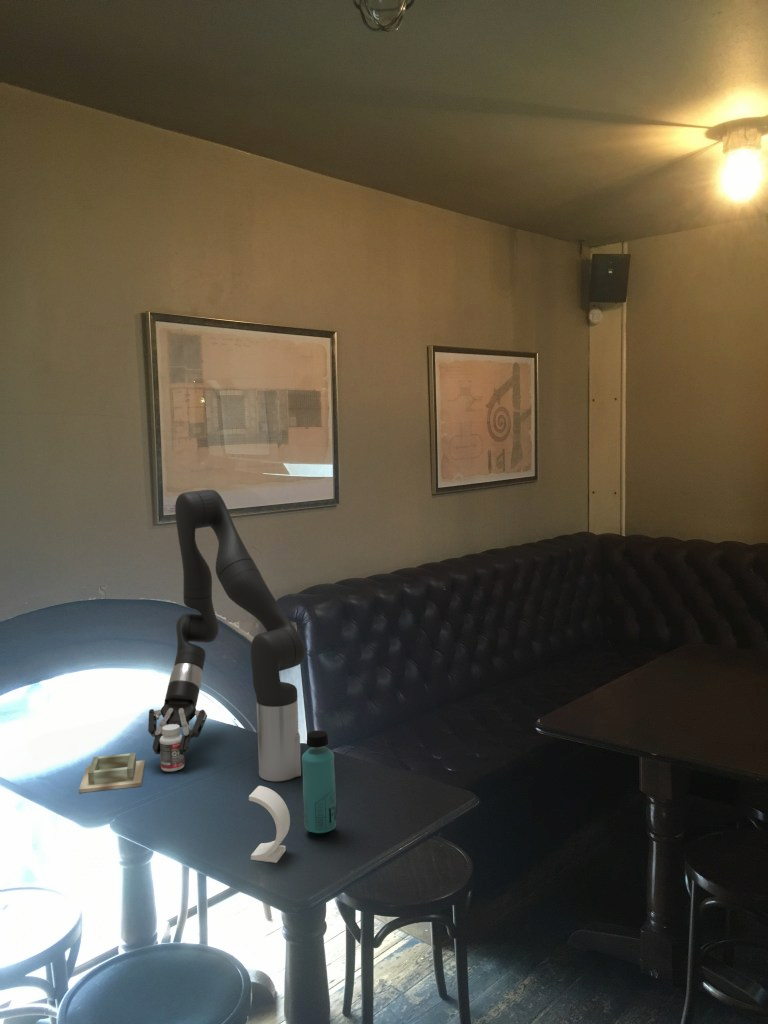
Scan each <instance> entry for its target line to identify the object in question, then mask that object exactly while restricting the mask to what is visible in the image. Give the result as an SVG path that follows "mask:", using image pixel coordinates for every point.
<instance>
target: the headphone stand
mask: <svg viewBox="0 0 768 1024" xmlns="http://www.w3.org/2000/svg"><path fill="white" fill-rule="evenodd" d="M248 801H250V802H254V803H256V804H259V805H260V806H262V807H263V808H265V809H266V810H267V811H268V812H269V814H270V816H271V817H272V819H273V821H274V823H275V827H276V828H275V829H276V836H275V840H273V841H269V842H264V843H263V842H262V843H260V844H259V845H258V846H257V847H256V849H255V850H254V851H253V852H252V853H251V855H250V860H251V861H259V862H267V863H275V864H276V863H278V862H279V860H280V859H281V858H282V856H283V855H284V853H286V849H287V848H286V845H281V844H282V842H283V841H284V839H285V838H286V836H287V835H288V832H289V831H290V827H291V816H290V810H289V808H288V806H287V804H286V802H285V801H284V799H283V798H282V796H280V795H279V793H277V792H276V791H275V790H272V789H271V788H269V787H266V786H263V785H258V786H257V787H255V789H254V790H253V791H252V792H251V794H249V795H248Z"/></svg>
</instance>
